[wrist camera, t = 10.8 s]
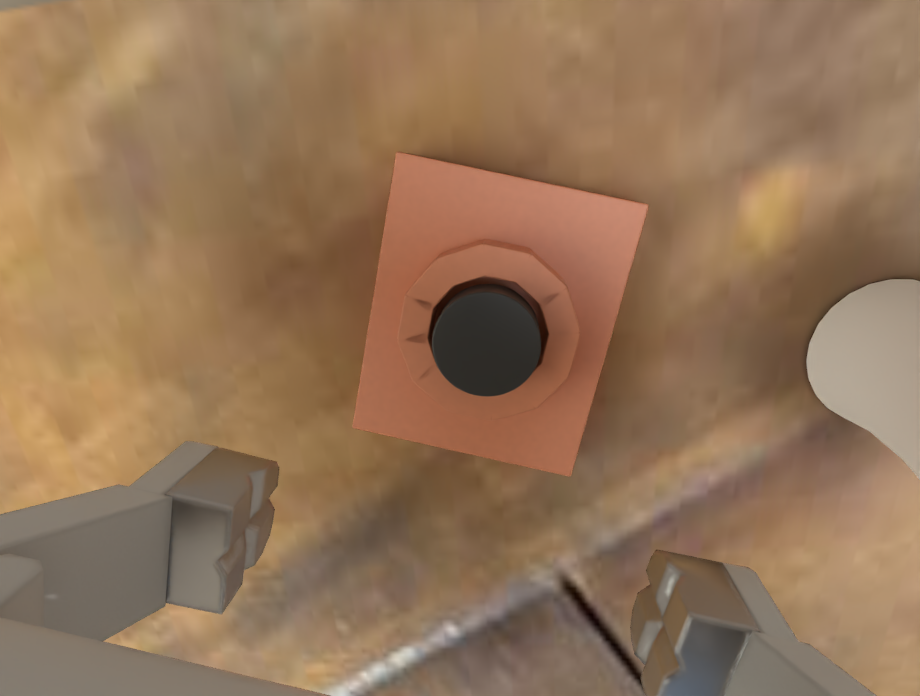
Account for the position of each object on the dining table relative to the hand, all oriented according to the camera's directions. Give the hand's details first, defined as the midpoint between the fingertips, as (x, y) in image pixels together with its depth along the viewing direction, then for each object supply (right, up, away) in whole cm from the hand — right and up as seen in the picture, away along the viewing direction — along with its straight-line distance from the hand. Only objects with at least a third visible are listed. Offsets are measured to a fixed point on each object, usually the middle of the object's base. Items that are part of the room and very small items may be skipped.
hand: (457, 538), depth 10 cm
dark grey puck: (+1, +4, +13) cm, 14 cm away
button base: (+1, +5, +17) cm, 17 cm away
